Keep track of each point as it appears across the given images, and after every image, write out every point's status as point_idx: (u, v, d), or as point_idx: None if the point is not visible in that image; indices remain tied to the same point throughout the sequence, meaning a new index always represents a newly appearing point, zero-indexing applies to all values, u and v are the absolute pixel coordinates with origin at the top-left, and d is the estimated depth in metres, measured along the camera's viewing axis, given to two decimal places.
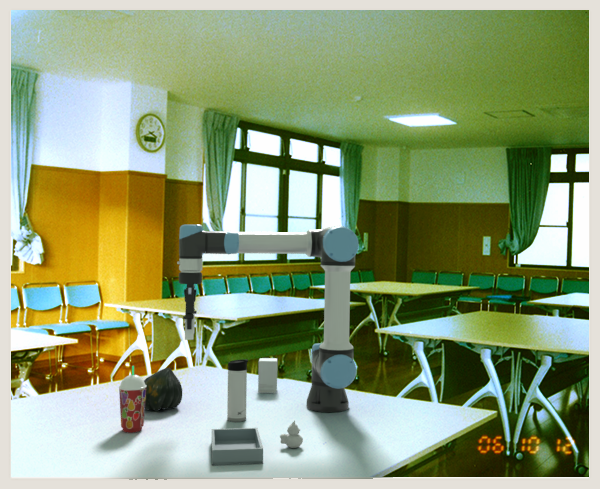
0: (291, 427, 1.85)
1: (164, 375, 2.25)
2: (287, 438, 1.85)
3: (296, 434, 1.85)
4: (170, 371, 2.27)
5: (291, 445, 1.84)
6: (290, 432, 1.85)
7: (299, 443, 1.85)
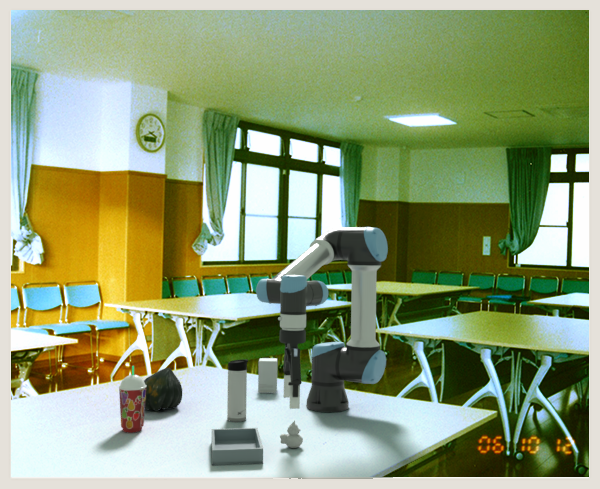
0: (291, 427, 1.85)
1: (164, 375, 2.25)
2: (287, 438, 1.85)
3: (296, 434, 1.85)
4: (170, 371, 2.27)
5: (291, 445, 1.84)
6: (290, 432, 1.85)
7: (299, 443, 1.85)
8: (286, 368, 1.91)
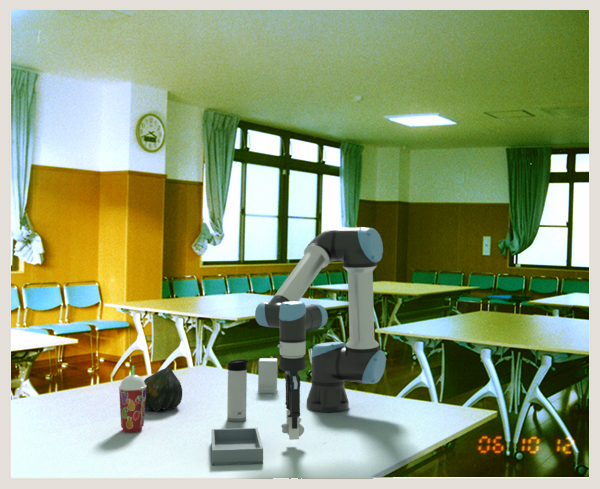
0: None
1: (164, 375, 2.25)
2: (288, 428, 1.85)
3: None
4: (170, 371, 2.27)
5: None
6: None
7: (300, 432, 1.85)
8: (288, 400, 1.89)
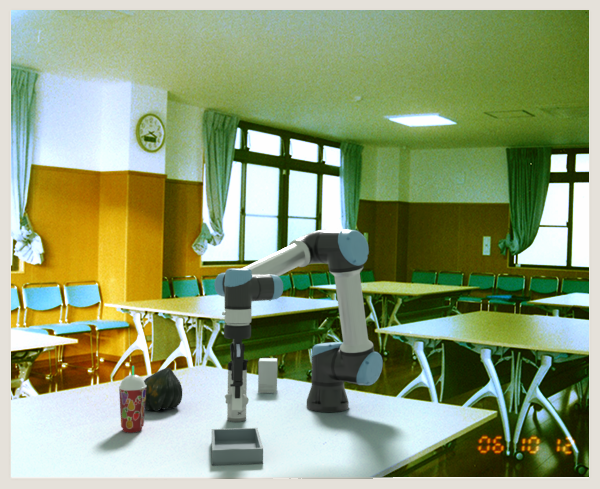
0: None
1: (164, 375, 2.25)
2: None
3: (242, 394, 1.80)
4: (170, 371, 2.27)
5: None
6: None
7: (244, 403, 1.79)
8: (233, 370, 1.83)
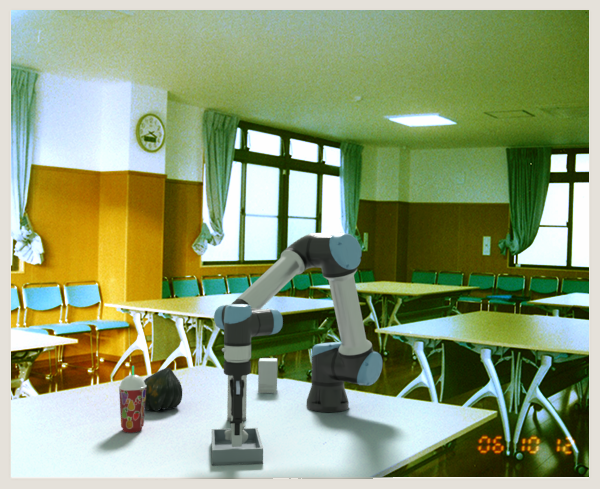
0: None
1: (164, 375, 2.25)
2: (231, 434, 1.79)
3: None
4: (170, 371, 2.27)
5: None
6: None
7: (244, 439, 1.79)
8: (233, 406, 1.83)
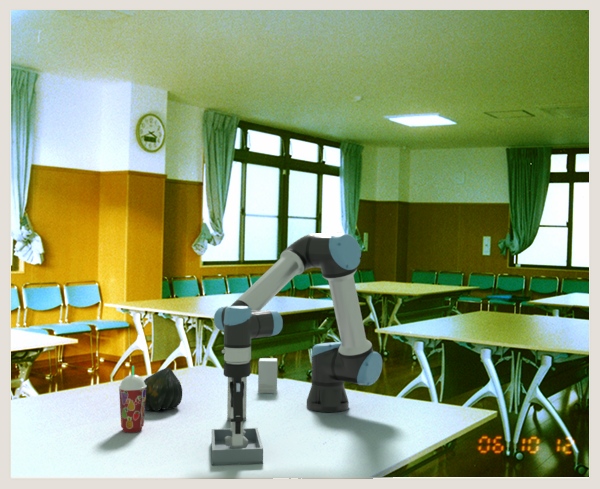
0: None
1: (164, 375, 2.25)
2: None
3: None
4: (170, 371, 2.27)
5: (235, 448, 1.78)
6: None
7: (244, 445, 1.79)
8: (232, 401, 1.86)
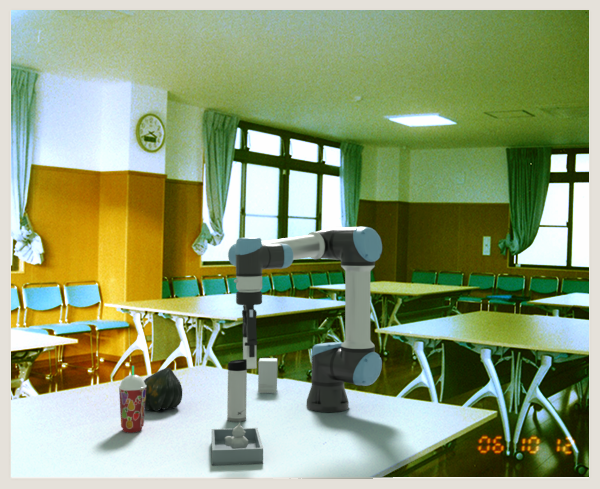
0: (236, 429, 1.80)
1: (164, 375, 2.25)
2: (232, 440, 1.79)
3: (241, 436, 1.80)
4: (170, 371, 2.27)
5: (235, 448, 1.78)
6: (235, 434, 1.80)
7: (244, 445, 1.79)
8: (244, 330, 1.93)
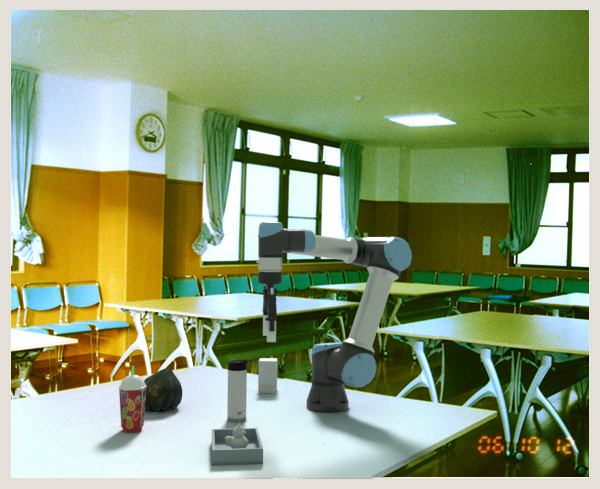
0: (236, 429, 1.80)
1: (164, 375, 2.25)
2: (232, 440, 1.79)
3: (241, 436, 1.80)
4: (170, 371, 2.27)
5: (235, 448, 1.78)
6: (235, 434, 1.80)
7: (244, 445, 1.79)
8: (265, 308, 2.09)
